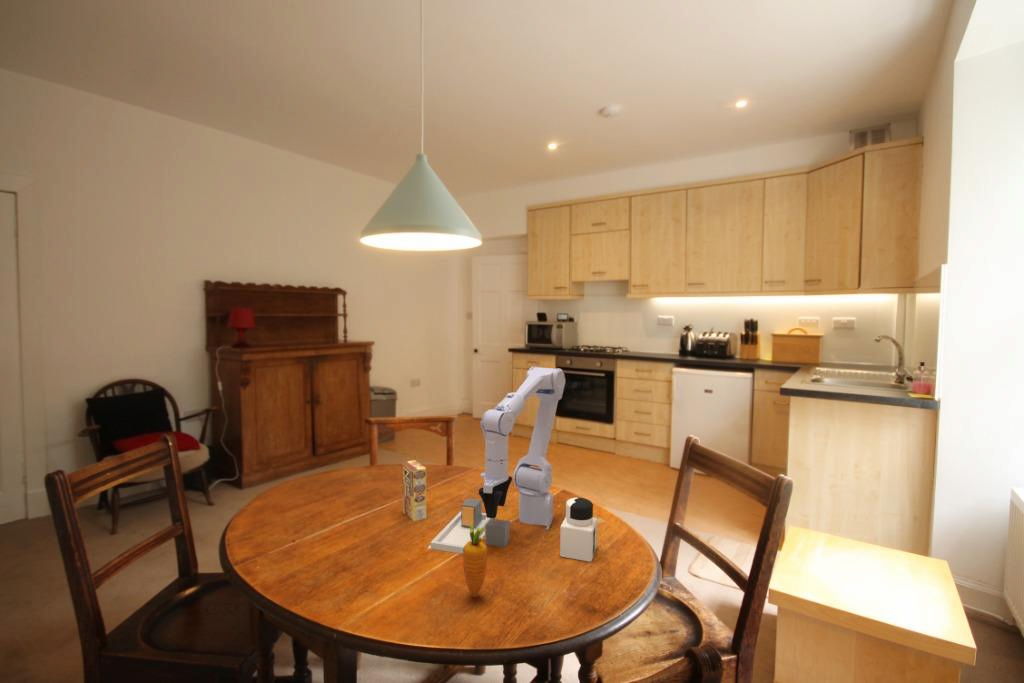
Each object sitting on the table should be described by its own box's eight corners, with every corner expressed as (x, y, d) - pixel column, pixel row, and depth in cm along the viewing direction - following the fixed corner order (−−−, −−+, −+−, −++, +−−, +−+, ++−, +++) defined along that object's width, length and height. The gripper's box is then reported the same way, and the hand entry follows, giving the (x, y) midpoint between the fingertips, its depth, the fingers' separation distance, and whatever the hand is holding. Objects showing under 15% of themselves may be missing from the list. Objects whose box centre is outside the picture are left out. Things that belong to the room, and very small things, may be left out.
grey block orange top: (504, 551, 115) (505, 527, 115) (484, 548, 116) (484, 524, 116) (509, 544, 119) (509, 521, 118) (489, 541, 120) (489, 518, 120)
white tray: (495, 523, 130) (495, 514, 130) (469, 558, 111) (469, 548, 111) (458, 518, 133) (458, 510, 133) (427, 552, 114) (427, 542, 114)
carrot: (462, 590, 98) (463, 520, 97) (486, 589, 99) (487, 520, 98) (462, 605, 93) (462, 531, 92) (487, 604, 94) (487, 531, 93)
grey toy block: (481, 521, 130) (481, 499, 129) (474, 529, 124) (474, 507, 124) (468, 519, 131) (468, 498, 130) (460, 527, 125) (460, 505, 125)
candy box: (427, 521, 131) (427, 467, 130) (413, 524, 129) (413, 470, 128) (415, 510, 139) (415, 459, 138) (401, 513, 136) (401, 461, 136)
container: (596, 547, 117) (597, 497, 117) (591, 562, 110) (592, 508, 109) (566, 542, 120) (567, 493, 119) (559, 557, 113) (560, 504, 112)
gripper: (490, 448, 124) (489, 498, 125) (471, 465, 110) (470, 521, 111) (515, 451, 122) (514, 501, 123) (500, 467, 108) (499, 525, 109)
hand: (495, 511), depth 117 cm, fingers open, 7 cm apart
